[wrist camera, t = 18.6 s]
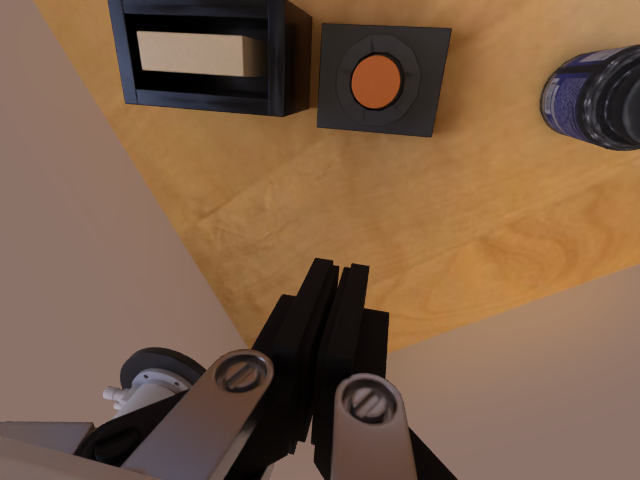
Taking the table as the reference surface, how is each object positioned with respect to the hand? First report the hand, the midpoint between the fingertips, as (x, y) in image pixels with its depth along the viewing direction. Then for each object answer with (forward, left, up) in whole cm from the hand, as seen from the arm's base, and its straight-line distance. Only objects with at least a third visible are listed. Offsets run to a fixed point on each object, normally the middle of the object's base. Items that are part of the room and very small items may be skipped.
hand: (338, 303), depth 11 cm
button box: (-1, +6, -25) cm, 26 cm away
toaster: (-14, +7, -25) cm, 30 cm away
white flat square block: (-14, +7, -24) cm, 29 cm away
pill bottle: (+15, +6, -25) cm, 30 cm away
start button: (-1, +6, -21) cm, 22 cm away
